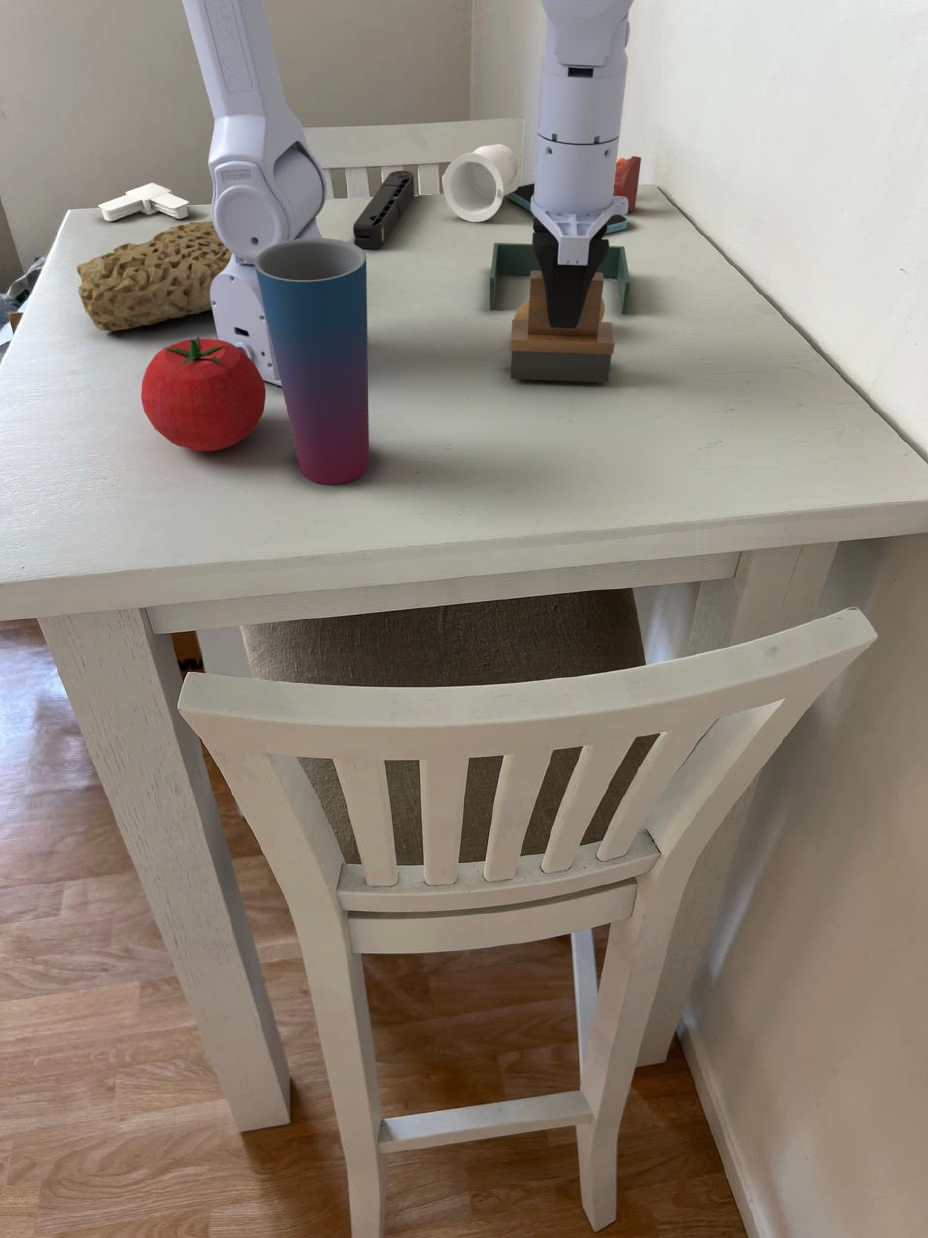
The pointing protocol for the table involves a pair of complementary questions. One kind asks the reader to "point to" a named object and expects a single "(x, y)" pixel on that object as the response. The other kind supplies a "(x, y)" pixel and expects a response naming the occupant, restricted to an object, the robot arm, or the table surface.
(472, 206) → the downlight
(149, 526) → the table surface
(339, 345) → the cup
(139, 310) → the sponge
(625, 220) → the smartphone
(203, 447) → the tomato
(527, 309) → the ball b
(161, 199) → the corner connector
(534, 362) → the brush
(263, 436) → the table surface
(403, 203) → the tablet stand
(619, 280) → the green u-shaped pusher
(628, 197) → the dentures
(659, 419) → the table surface
